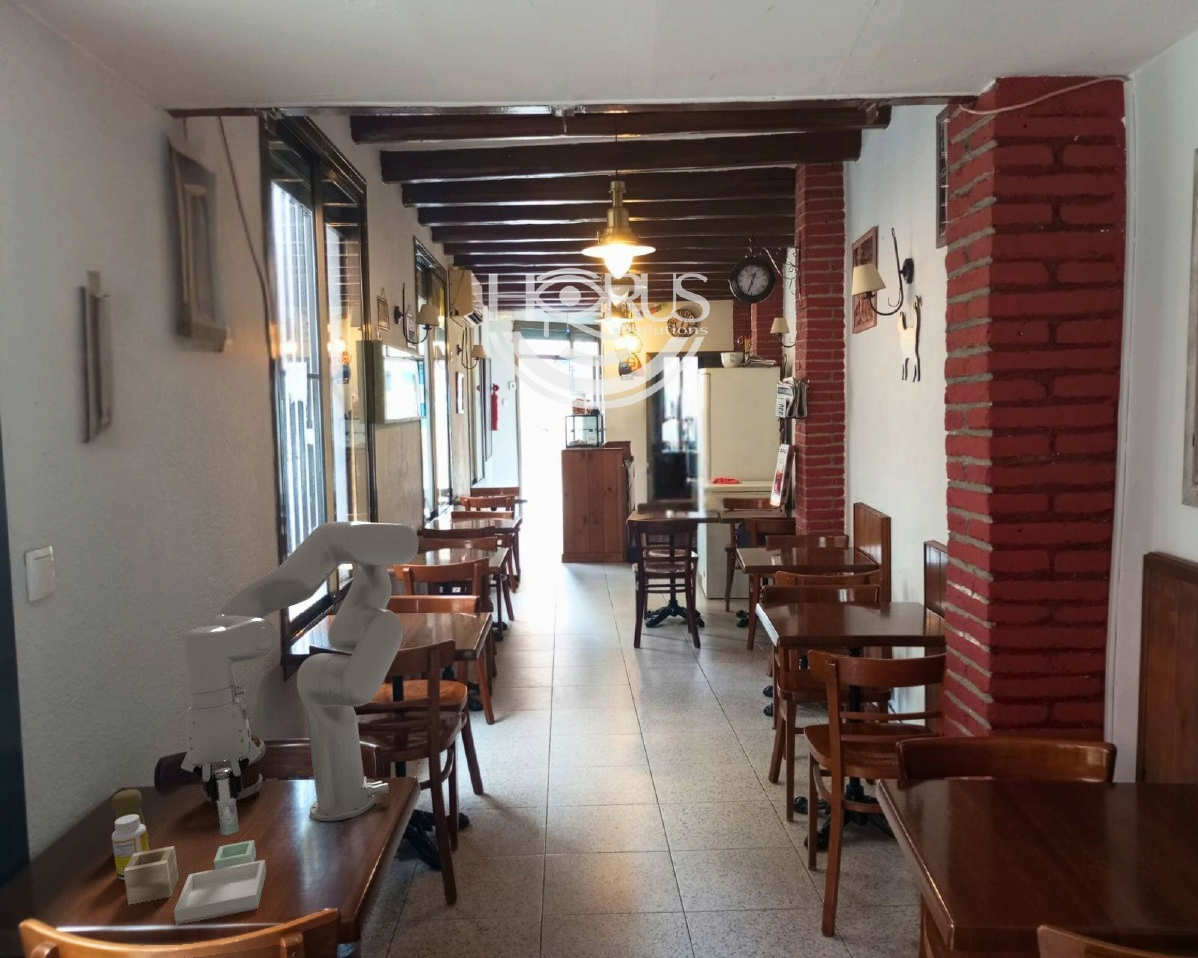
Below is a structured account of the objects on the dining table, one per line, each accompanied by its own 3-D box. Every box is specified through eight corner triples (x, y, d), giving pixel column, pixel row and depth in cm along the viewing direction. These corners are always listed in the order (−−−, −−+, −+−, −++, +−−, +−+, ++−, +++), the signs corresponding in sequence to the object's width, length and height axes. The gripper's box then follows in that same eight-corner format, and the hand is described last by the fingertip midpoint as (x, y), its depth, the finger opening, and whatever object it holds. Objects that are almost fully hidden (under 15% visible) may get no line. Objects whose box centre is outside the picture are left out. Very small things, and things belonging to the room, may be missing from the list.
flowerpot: (234, 815, 188) (221, 719, 187) (181, 807, 195) (168, 715, 193) (286, 786, 201) (275, 696, 200) (234, 779, 208) (223, 693, 206)
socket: (256, 854, 170) (254, 839, 170) (251, 869, 164) (249, 854, 164) (221, 861, 168) (219, 846, 168) (215, 876, 163) (213, 861, 162)
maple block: (178, 878, 163) (174, 845, 163) (170, 896, 157) (166, 862, 157) (138, 886, 162) (133, 853, 161) (128, 905, 156) (123, 871, 155)
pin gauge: (240, 825, 167) (233, 766, 166) (237, 832, 164) (230, 772, 163) (222, 828, 167) (214, 769, 166) (219, 836, 164) (211, 775, 163)
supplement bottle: (143, 862, 171) (136, 809, 170) (157, 870, 167) (149, 815, 166) (112, 876, 167) (104, 821, 166) (125, 884, 163) (117, 828, 162)
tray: (266, 872, 162) (264, 859, 162) (257, 908, 150) (256, 894, 150) (190, 887, 160) (189, 874, 159) (175, 925, 148) (173, 911, 147)
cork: (136, 855, 174) (128, 798, 174) (108, 854, 176) (100, 798, 175) (157, 839, 180) (150, 785, 179) (130, 839, 182) (123, 785, 181)
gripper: (264, 684, 169) (276, 781, 171) (168, 698, 165) (180, 798, 167) (259, 695, 162) (272, 797, 163) (158, 710, 158) (172, 814, 159)
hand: (225, 796), depth 165 cm, fingers closed on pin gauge, 3 cm apart
